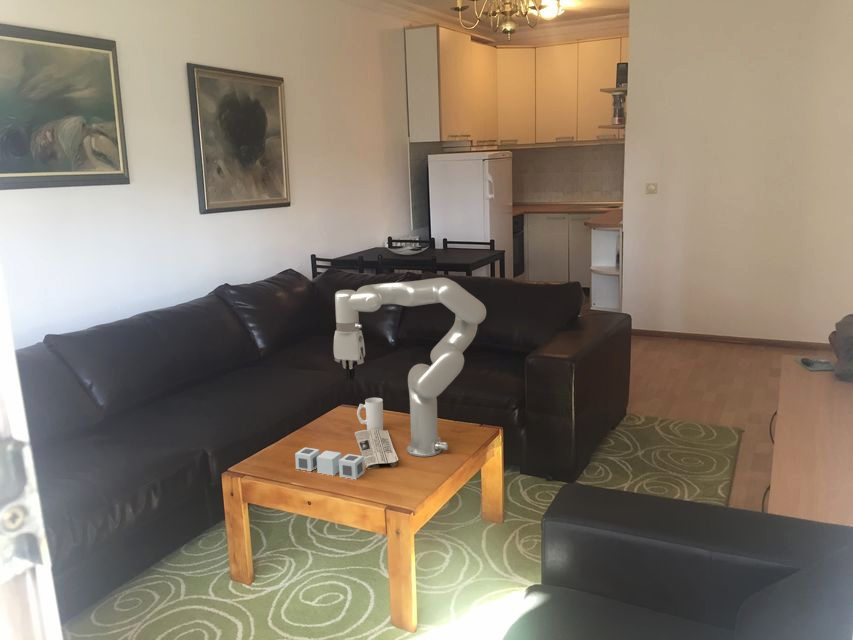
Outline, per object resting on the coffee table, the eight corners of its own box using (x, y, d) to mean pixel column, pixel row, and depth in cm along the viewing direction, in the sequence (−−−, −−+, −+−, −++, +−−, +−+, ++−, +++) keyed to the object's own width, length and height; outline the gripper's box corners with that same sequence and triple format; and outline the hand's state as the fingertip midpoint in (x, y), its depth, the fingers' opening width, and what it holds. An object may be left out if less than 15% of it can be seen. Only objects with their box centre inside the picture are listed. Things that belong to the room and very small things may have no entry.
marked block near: (364, 473, 245) (364, 455, 244) (355, 480, 240) (355, 462, 238) (348, 470, 248) (347, 453, 246) (339, 477, 242) (338, 460, 241)
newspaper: (354, 436, 280) (354, 427, 279) (387, 433, 283) (386, 424, 282) (367, 472, 246) (366, 462, 246) (403, 468, 249) (403, 459, 248)
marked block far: (321, 466, 252) (320, 449, 251) (311, 473, 246) (310, 455, 245) (305, 463, 254) (304, 446, 253) (295, 470, 249) (294, 453, 247)
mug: (383, 426, 289) (381, 397, 287) (384, 432, 282) (383, 402, 280) (357, 428, 288) (356, 398, 285) (358, 434, 281) (357, 404, 279)
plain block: (342, 469, 249) (341, 452, 247) (333, 476, 243) (332, 459, 242) (326, 467, 251) (325, 450, 250) (317, 473, 246) (316, 457, 244)
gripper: (372, 325, 248) (374, 378, 251) (334, 323, 253) (336, 374, 257) (361, 330, 241) (364, 384, 245) (322, 327, 247) (325, 380, 250)
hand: (350, 379), depth 251 cm, fingers closed
